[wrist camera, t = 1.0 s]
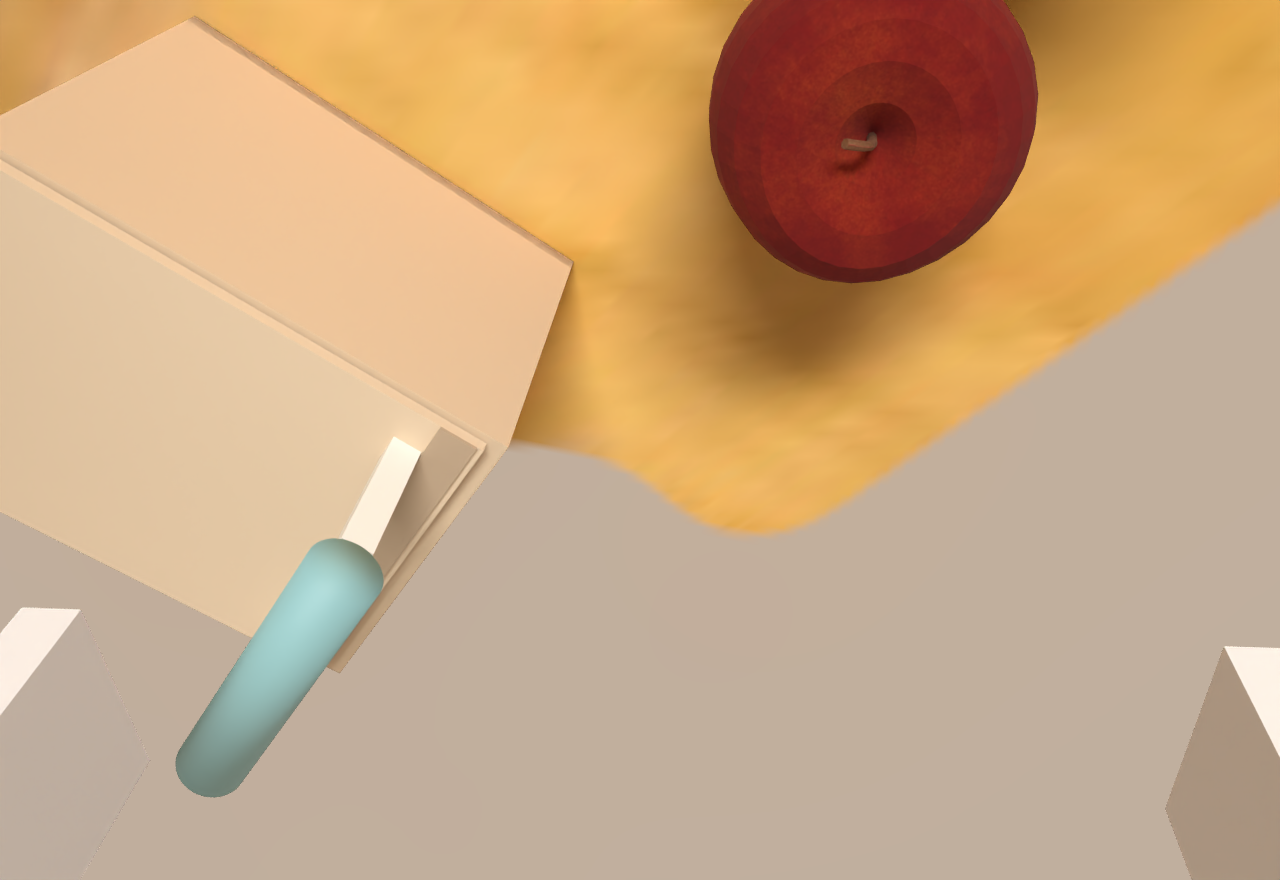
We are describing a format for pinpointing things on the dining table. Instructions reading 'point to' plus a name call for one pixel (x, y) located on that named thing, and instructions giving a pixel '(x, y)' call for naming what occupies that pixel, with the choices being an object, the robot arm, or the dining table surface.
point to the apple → (870, 128)
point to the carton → (306, 231)
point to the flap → (205, 457)
